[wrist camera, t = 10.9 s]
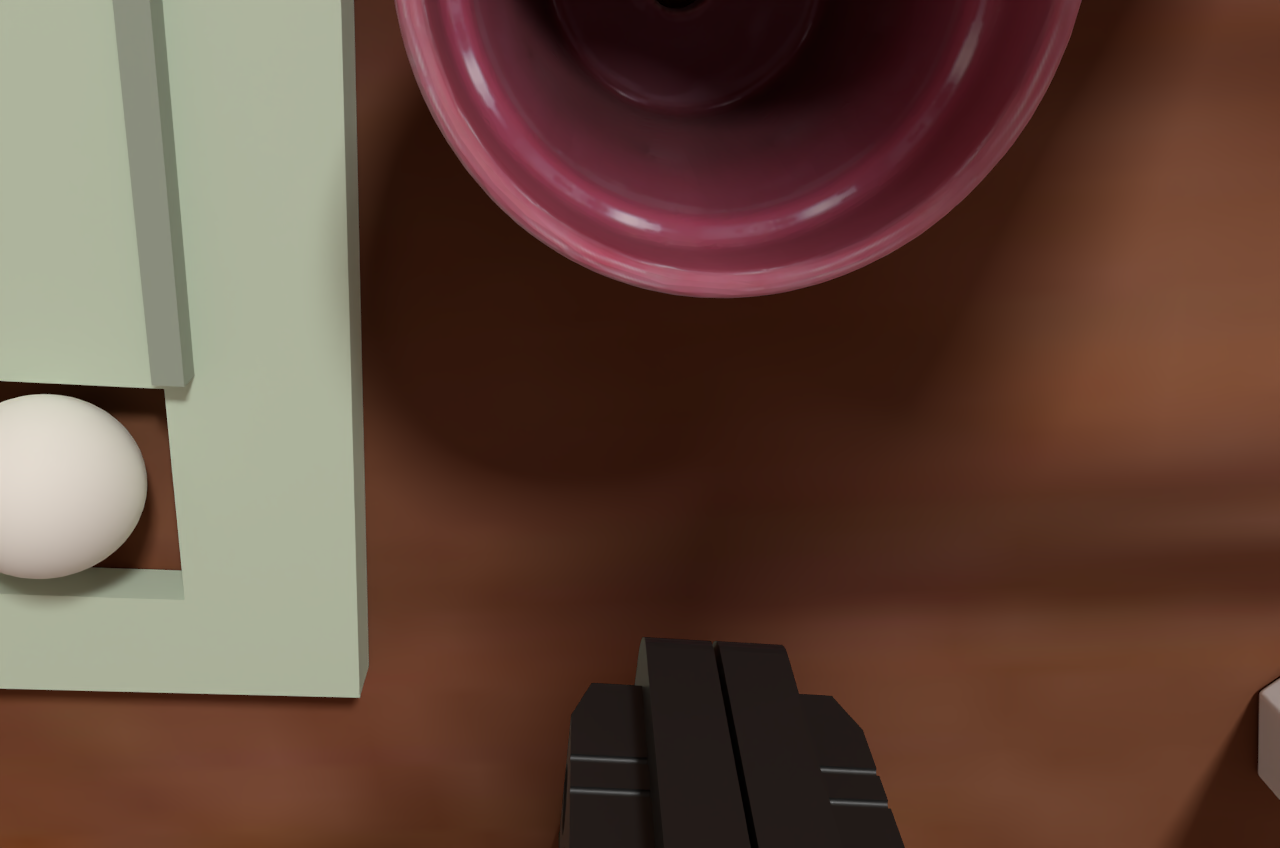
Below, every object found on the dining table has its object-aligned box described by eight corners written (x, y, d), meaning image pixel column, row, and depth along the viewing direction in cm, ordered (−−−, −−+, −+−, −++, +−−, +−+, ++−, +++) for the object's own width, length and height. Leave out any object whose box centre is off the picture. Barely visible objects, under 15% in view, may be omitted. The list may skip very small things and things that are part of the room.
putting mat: (-433, -381, 28) (-543, -420, 25) (347, -300, 30) (324, -328, 27) (-175, 650, 40) (-230, 700, 37) (368, 666, 42) (354, 714, 39)
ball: (-22, 598, 36) (-12, 428, 38) (166, 583, 38) (168, 419, 39) (-110, 570, 31) (-93, 372, 32) (114, 554, 32) (119, 364, 33)
